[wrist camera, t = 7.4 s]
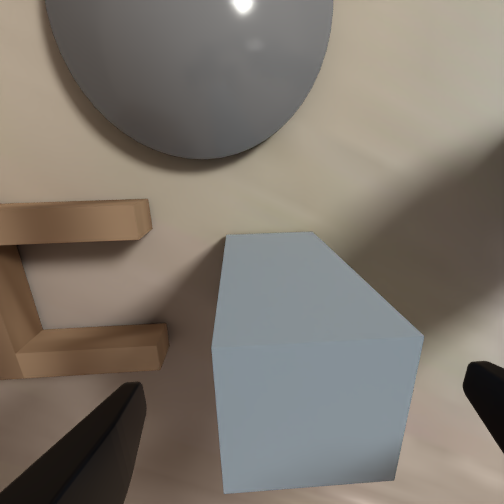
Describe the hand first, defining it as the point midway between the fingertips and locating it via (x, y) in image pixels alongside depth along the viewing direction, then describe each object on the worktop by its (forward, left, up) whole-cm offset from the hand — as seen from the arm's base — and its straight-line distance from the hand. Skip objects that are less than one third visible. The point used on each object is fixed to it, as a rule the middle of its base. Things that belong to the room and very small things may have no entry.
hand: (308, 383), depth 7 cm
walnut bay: (+10, 0, -8) cm, 13 cm away
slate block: (0, 0, -8) cm, 8 cm away
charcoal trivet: (+3, -11, -8) cm, 14 cm away
